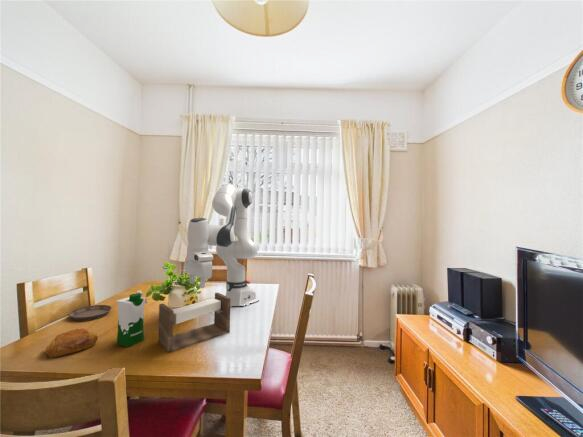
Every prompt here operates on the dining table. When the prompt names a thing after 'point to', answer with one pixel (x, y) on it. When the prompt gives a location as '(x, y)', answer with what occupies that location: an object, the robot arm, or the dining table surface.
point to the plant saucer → (90, 312)
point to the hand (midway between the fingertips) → (196, 285)
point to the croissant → (71, 342)
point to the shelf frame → (195, 335)
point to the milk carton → (130, 320)
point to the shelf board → (195, 310)
